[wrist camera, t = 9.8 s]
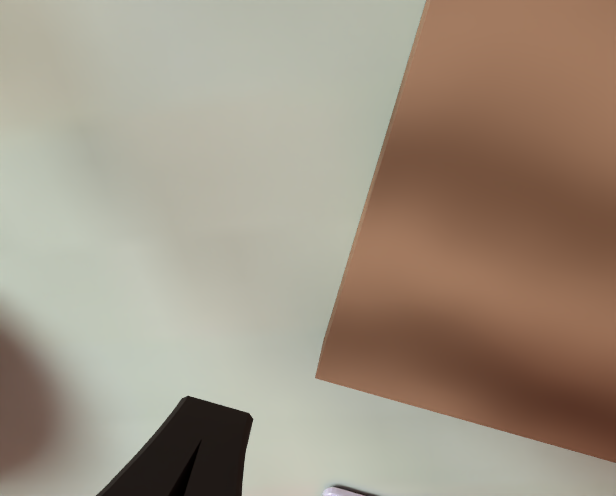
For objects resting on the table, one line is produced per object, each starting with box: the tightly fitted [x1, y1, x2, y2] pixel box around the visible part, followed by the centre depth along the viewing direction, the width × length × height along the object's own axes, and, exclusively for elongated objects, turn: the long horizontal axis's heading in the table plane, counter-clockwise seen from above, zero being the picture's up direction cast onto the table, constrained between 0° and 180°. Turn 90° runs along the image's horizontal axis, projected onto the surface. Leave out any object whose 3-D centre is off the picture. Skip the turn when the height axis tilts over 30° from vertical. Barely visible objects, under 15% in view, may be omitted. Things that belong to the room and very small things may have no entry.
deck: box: [315, 0, 616, 463], centre depth 16 cm, size 16×12×2 cm
